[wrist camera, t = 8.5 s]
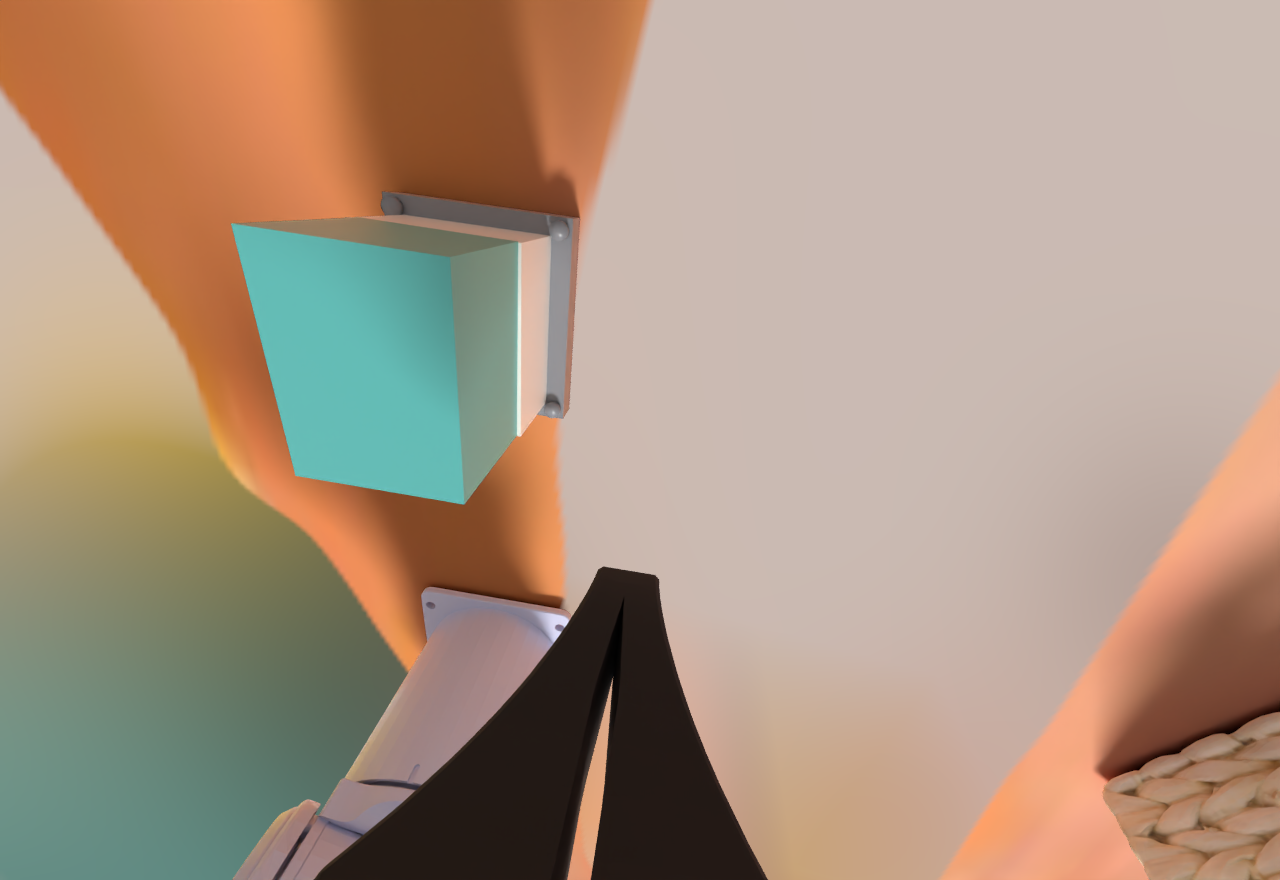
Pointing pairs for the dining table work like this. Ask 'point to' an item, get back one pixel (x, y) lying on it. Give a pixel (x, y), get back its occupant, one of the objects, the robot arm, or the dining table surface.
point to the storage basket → (1206, 807)
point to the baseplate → (561, 271)
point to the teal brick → (387, 349)
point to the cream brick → (530, 306)
